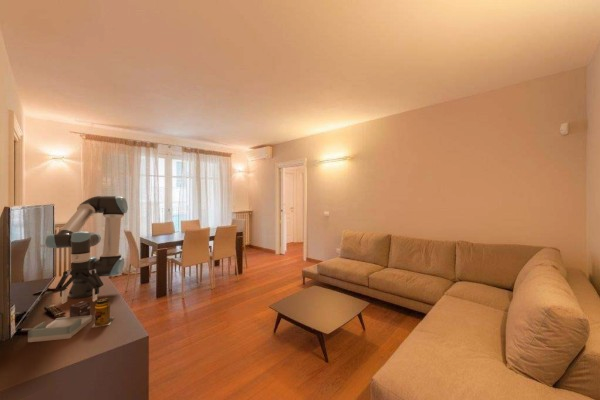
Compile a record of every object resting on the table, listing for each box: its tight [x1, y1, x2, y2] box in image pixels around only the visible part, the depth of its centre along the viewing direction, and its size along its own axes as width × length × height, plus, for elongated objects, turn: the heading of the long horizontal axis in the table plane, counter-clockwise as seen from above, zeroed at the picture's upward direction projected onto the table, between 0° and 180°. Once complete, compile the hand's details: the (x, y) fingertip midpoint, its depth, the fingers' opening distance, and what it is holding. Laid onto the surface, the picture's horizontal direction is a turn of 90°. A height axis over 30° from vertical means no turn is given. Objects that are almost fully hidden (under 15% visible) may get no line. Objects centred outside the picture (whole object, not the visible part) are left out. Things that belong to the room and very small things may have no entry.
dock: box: [27, 314, 94, 343], centre depth 117 cm, size 17×16×5 cm
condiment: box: [91, 297, 115, 328], centre depth 124 cm, size 7×8×12 cm
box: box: [69, 301, 91, 317], centre depth 129 cm, size 6×6×7 cm
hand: (79, 301), depth 128 cm, fingers open, 13 cm apart
